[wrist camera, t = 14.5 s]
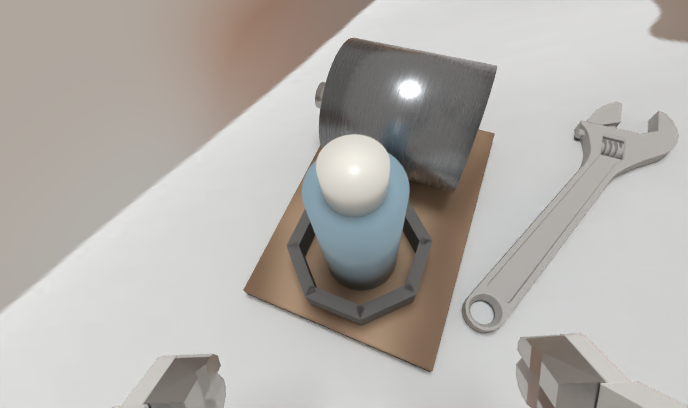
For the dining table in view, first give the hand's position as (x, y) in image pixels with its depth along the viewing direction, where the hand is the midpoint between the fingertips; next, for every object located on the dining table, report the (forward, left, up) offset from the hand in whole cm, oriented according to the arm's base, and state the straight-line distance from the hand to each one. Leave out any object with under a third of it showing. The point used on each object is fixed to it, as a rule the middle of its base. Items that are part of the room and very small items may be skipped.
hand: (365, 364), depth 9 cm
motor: (+4, -17, -14) cm, 22 cm away
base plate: (+3, -12, -15) cm, 19 cm away
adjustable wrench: (-10, -17, -15) cm, 25 cm away
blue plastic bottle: (+3, -7, -14) cm, 16 cm away
